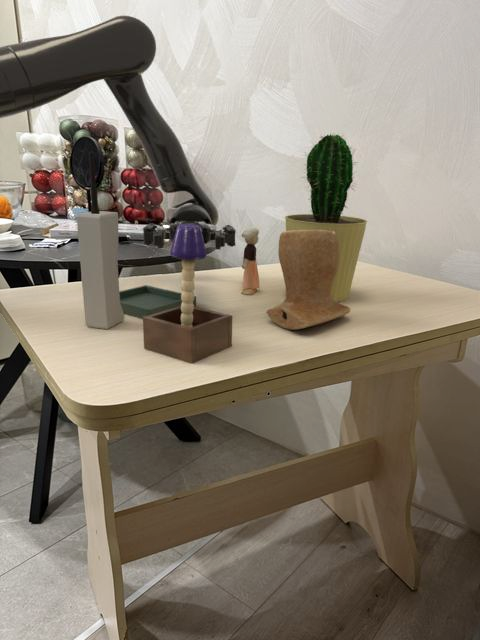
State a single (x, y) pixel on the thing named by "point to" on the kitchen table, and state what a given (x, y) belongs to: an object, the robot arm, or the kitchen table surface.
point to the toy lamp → (188, 264)
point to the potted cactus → (332, 206)
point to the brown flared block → (308, 279)
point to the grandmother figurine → (250, 261)
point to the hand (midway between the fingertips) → (189, 242)
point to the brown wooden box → (187, 333)
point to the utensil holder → (99, 262)
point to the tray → (149, 300)
